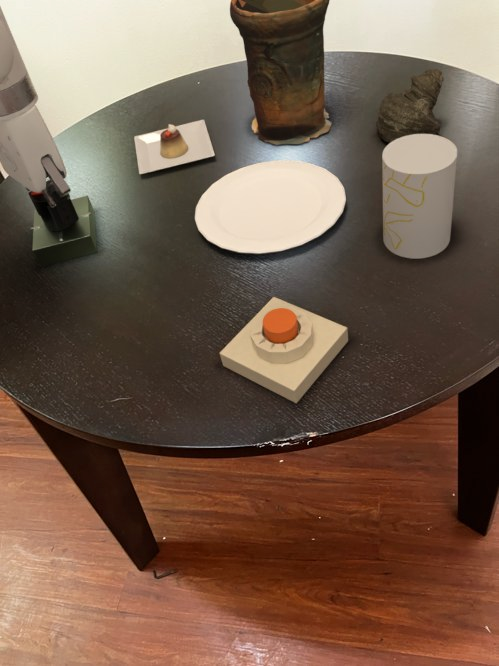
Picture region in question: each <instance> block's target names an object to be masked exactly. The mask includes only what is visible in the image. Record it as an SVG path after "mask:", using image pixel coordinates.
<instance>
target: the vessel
mask: <svg viewBox="0 0 499 666" xmlns="http://www.w3.org/2000/svg"><path fill="white" fill-rule="evenodd" d="M329 5H330V0H230V4H229V16H230V19H231V21H232V23H233V24H234V26H235V28H237V30H238V32H239V36H240V37H241V38H242V41H243V48H244V55H245V59H246V66H247V87H248V90H249V97H250V98H251V101H252V103H253V111H254V115H255V117H254V119H253V120H252V121H251V122H252V124H251V130H252V131H253V133H254V134H256V136H258V137H257V139H258V140H261V141H264V143H269V144H272V145H274V146H278V145H283V144H285V145H286V144H287V145H300V144H303V143H306V142H309V141H310V138H318V137H319V136H321V135H323V134H326V133H328V132H329V131H330V129H331V126H332V122H331V121H330V120H328V119H329V118H330V116H329V115H330V113H328V112H327V111H326V108H325V39H324V37H325V36H324V25H325V21H326V15H327V11H328V7H329Z"/></svg>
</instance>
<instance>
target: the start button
mask: <svg viewBox="0 0 499 666" xmlns="http://www.w3.org/2000/svg"><path fill="white" fill-rule="evenodd" d="M263 328H264V332H265V336H266V338H267V339H268V340H269V341H271V342H273V343H277V344H283V343H287V342H289V341H291V340H293V339H294V338H295V337H296V336H297V334H298V323H297V317H296V315H295V313H294V312H293V311H291V310H289V309H286V308H278V309H274V310H271V311H270V312H268V313H267V314H266V315H265V316H264V318H263Z"/></svg>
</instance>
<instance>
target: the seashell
mask: <svg viewBox="0 0 499 666" xmlns="http://www.w3.org/2000/svg"><path fill="white" fill-rule="evenodd" d="M410 80H411V85H410V88H409V89H408V90H404V92H401V93H391V92H390V93H387V95H386V96H385V97H384V98H383V99H382V101H381V104H380V106H379V111H378V117H377V119H376V122H375V126H376V128H377V132H378V135H379V137H380V139H382V140H383V141H384V142H386V143H388V144H389V143H391V142H392V141H394V140H396V139H398V138H401V137H404V136H407V135H413V134H432V135H437V134H438V133H439V132H440V131H441V129H442V125H441V124H440V123H439V121H438V120H437V119H436V117H435V114H434V111H433V110H434V108H435V106H436V105H437V101H438V98H439V95H440V93H441V90H442V86H443V82H444V77H443V73H442V71H441V69H438V68H436V69H427V70H425V71H424V72H423V73H422V74H420V75H419V74H417V75H413V76H411V77H410Z"/></svg>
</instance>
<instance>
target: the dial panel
mask: <svg viewBox="0 0 499 666" xmlns="http://www.w3.org/2000/svg"><path fill="white" fill-rule="evenodd" d="M71 201H72V203H73V206H74V208H75V210H76V213H77V215H78V217H79V220H78V221H77V222H75V223H73V224H72V225H71V226H70V227H68V228H66V229H64V230H62V231H61V230H60V231H50V230H48V229H47V228H46V226H45V224H44V222H43V220H42V218H41V216H40V215H39V214H38V213H37V210H36V208H34V209H33V212H34V213H33V227H30V231H32V253H33V255H34V257H35V259H36V260H37V262H38V264H39V267H40V268H42V267H47V266H51V265H55V264H59V263H61V262H65V261H69V260H73V259H77V258H81V257H85V256H88V255H93V254H96V253H98V244H97V243H98V242H97V241H98V240H97V229H96V214H95V210H94V209H95V208H94V207H93V204H92V201H91V200H90V197H89V196H88V195H84V196H80V197H76V198H72V199H71Z"/></svg>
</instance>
